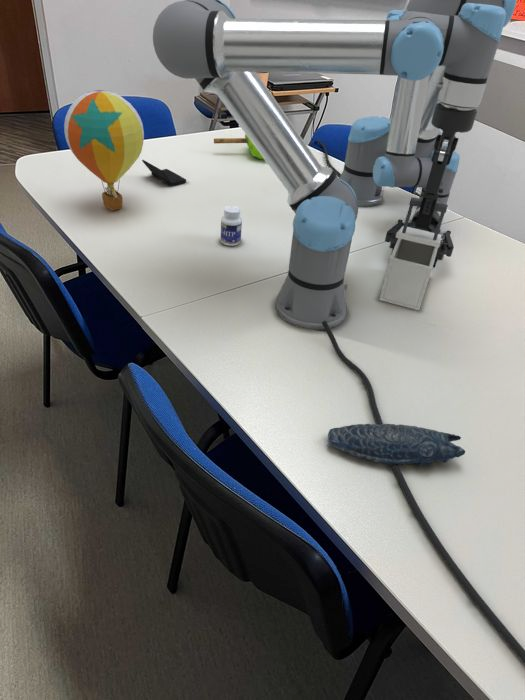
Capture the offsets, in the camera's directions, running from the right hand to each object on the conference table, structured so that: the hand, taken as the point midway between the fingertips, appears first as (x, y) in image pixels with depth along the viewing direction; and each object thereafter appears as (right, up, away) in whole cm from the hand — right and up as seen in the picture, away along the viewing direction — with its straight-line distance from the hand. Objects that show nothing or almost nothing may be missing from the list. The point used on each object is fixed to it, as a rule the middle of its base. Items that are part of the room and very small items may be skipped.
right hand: (413, 257), depth 122 cm
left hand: (-2, +5, -12) cm, 13 cm away
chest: (-2, -7, +1) cm, 8 cm away
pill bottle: (-44, +6, +13) cm, 46 cm away
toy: (-77, +18, +23) cm, 83 cm away
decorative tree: (-38, +49, +67) cm, 92 cm away
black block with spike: (-67, +32, +42) cm, 85 cm away
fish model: (-15, -38, -39) cm, 56 cm away
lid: (-1, +3, -7) cm, 8 cm away
